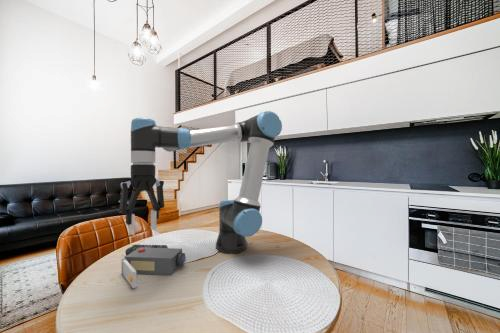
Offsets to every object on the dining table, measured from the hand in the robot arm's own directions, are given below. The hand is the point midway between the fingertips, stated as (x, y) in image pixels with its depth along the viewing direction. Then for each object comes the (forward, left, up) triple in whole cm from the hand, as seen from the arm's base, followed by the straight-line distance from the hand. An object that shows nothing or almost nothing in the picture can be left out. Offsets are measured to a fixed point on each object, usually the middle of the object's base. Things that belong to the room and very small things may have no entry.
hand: (143, 231), depth 69 cm
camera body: (0, -9, -17) cm, 19 cm away
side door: (+5, +1, -17) cm, 17 cm away
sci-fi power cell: (+10, -18, -18) cm, 27 cm away
